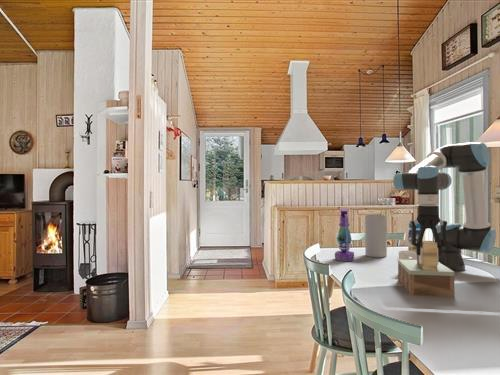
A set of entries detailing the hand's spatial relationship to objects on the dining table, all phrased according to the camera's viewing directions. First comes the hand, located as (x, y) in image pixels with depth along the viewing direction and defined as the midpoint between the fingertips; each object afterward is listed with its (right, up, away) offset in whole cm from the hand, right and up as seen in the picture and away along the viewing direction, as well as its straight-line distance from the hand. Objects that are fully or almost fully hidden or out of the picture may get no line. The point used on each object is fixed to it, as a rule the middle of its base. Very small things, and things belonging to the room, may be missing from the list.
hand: (428, 263), depth 149 cm
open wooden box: (+1, -12, +6) cm, 14 cm away
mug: (+6, -13, +32) cm, 35 cm away
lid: (+1, -3, +6) cm, 7 cm away
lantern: (-15, -12, +71) cm, 74 cm away
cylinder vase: (+7, -12, +83) cm, 84 cm away
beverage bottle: (+31, -12, +83) cm, 90 cm away
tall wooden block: (0, -11, 0) cm, 11 cm away
